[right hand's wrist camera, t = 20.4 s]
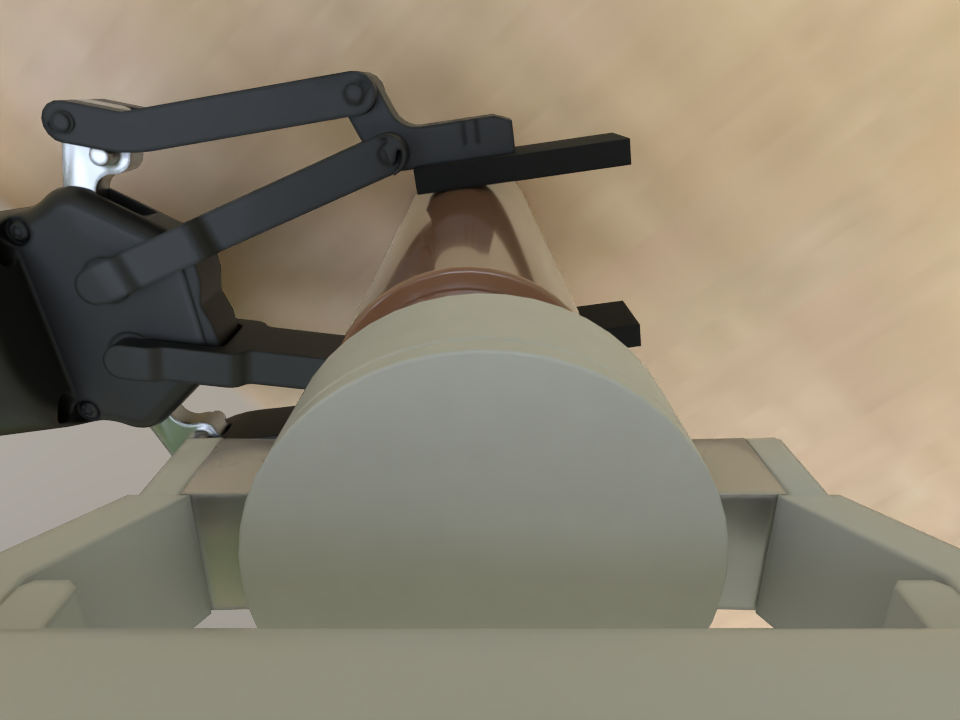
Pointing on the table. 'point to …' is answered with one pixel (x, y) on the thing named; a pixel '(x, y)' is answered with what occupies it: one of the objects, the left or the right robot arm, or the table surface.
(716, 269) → the table surface
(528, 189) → the table surface
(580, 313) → the left robot arm
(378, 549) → the lid
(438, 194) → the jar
